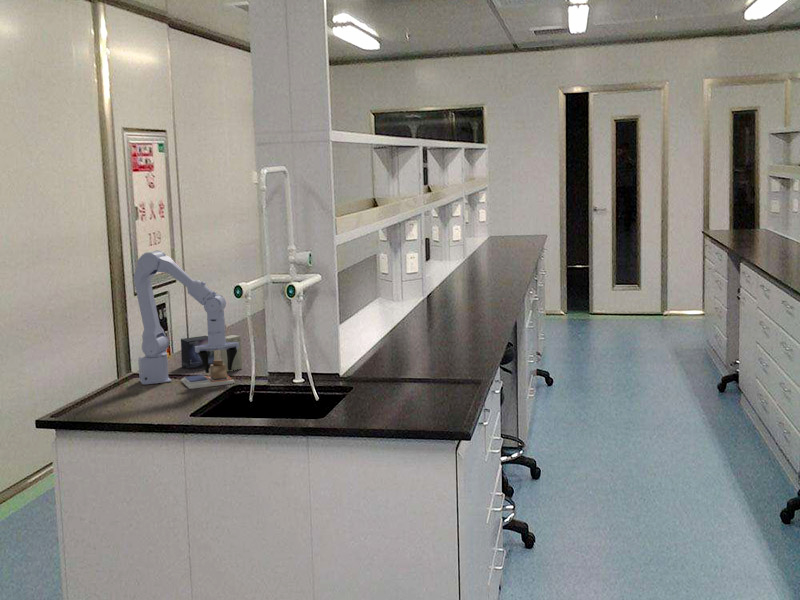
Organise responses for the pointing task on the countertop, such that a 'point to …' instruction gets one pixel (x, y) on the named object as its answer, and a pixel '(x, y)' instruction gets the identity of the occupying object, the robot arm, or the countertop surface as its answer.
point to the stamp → (218, 370)
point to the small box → (190, 356)
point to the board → (204, 381)
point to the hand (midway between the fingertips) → (218, 371)
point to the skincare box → (237, 359)
